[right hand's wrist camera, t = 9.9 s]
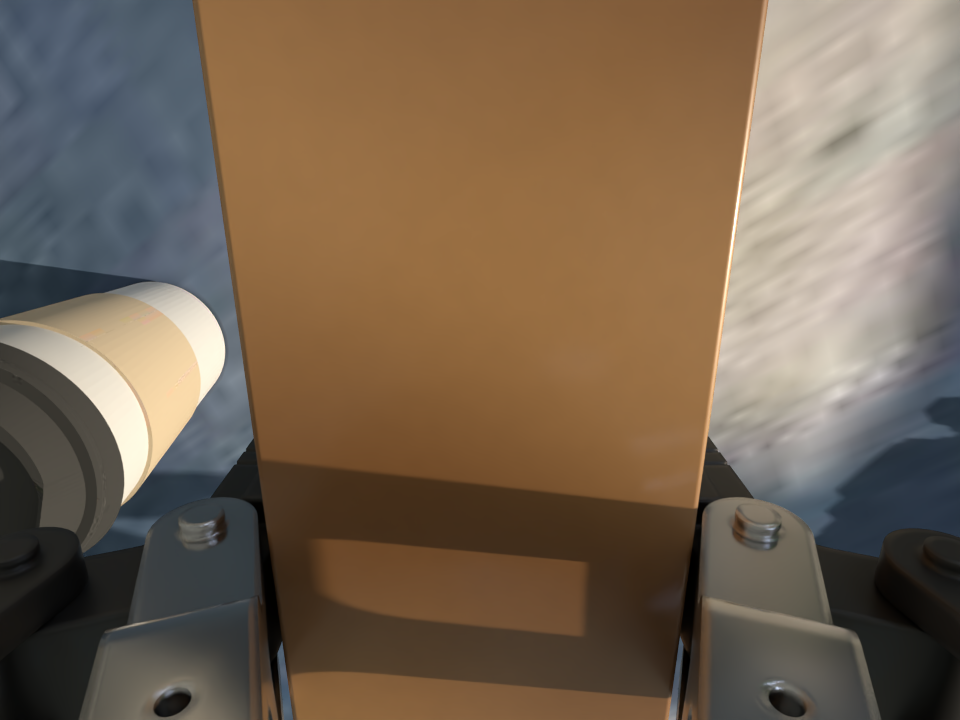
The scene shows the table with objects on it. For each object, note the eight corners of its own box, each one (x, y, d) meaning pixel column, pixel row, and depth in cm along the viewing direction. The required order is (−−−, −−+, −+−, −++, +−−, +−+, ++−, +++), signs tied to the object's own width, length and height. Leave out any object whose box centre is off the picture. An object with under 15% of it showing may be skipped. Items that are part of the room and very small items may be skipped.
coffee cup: (54, 378, 34) (-245, 553, 20) (101, 229, 31) (-207, 308, 17) (213, 446, 35) (41, 654, 21) (271, 309, 33) (117, 444, 19)
